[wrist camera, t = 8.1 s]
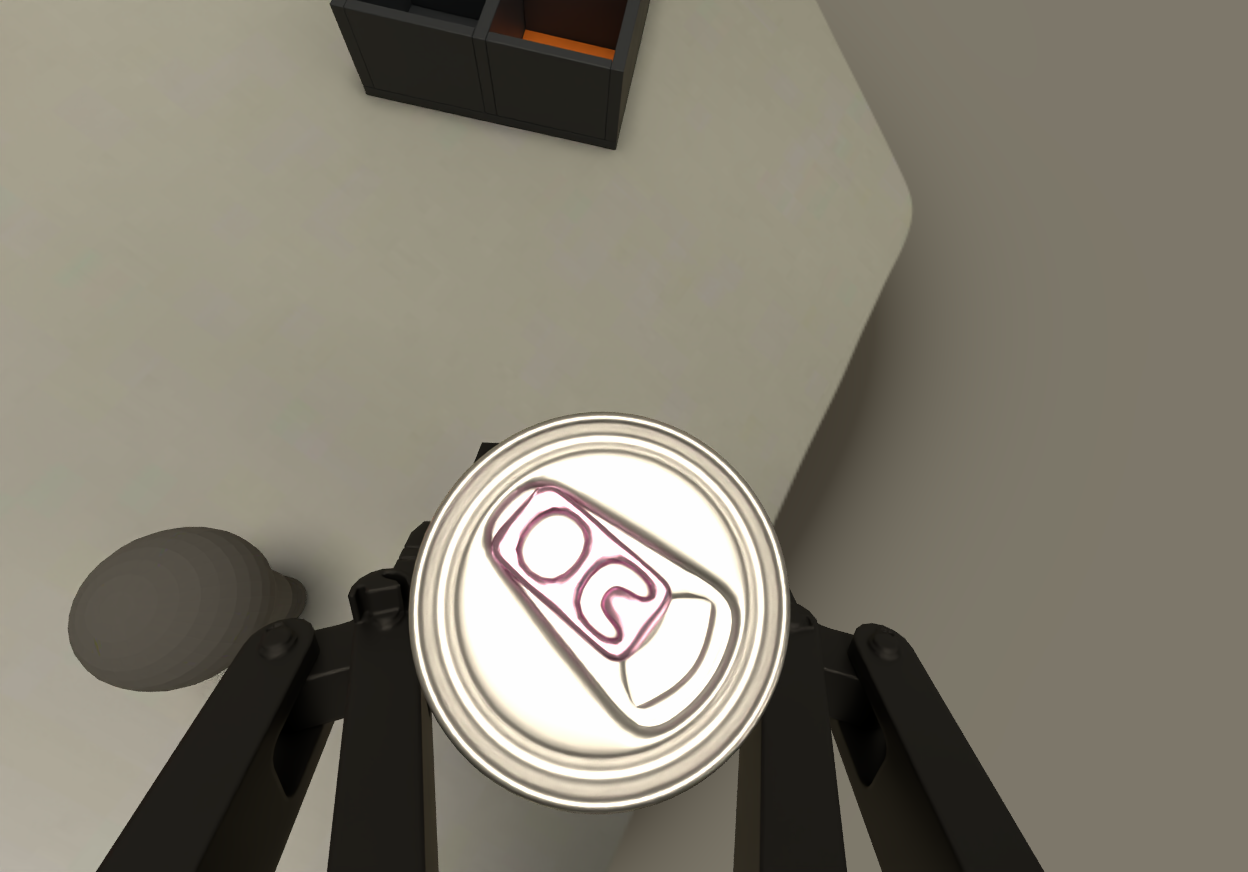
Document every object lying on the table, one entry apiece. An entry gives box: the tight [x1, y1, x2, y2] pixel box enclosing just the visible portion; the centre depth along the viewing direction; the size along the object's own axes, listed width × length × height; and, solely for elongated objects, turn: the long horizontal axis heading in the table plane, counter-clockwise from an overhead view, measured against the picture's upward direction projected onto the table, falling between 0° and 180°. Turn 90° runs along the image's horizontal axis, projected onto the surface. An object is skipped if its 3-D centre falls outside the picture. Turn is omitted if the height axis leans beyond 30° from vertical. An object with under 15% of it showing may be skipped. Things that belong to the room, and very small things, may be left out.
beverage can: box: [409, 412, 790, 814], centre depth 14 cm, size 6×6×15 cm
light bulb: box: [68, 527, 306, 692], centre depth 20 cm, size 6×6×10 cm
